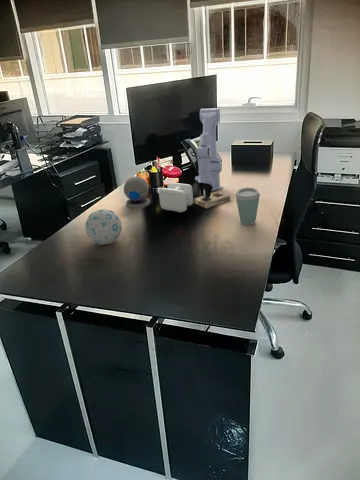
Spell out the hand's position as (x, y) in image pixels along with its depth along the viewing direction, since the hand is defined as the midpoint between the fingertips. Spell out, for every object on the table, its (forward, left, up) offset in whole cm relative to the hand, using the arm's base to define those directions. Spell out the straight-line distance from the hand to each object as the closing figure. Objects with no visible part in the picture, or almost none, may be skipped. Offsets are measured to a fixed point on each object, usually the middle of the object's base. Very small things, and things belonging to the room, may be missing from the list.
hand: (205, 196), depth 185 cm
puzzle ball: (+4, -58, -4) cm, 58 cm away
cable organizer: (-6, -14, -4) cm, 16 cm away
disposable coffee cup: (+31, -1, -4) cm, 31 cm away
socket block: (0, +4, -4) cm, 6 cm away
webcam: (-26, -26, -4) cm, 37 cm away
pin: (0, 0, -3) cm, 3 cm away
